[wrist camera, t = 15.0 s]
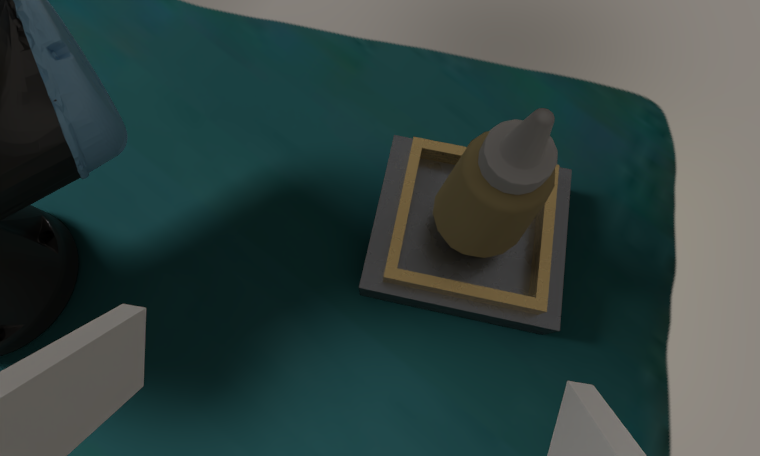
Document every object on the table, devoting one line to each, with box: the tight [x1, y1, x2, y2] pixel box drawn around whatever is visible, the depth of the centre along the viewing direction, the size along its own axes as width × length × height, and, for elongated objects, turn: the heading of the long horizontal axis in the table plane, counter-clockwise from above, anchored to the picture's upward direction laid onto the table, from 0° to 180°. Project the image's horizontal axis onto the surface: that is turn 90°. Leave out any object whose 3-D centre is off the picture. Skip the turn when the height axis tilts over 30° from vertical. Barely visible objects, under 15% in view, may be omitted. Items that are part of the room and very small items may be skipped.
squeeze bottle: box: [433, 108, 557, 258], centre depth 31 cm, size 8×8×18 cm
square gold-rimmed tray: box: [359, 135, 572, 335], centre depth 41 cm, size 18×16×6 cm
